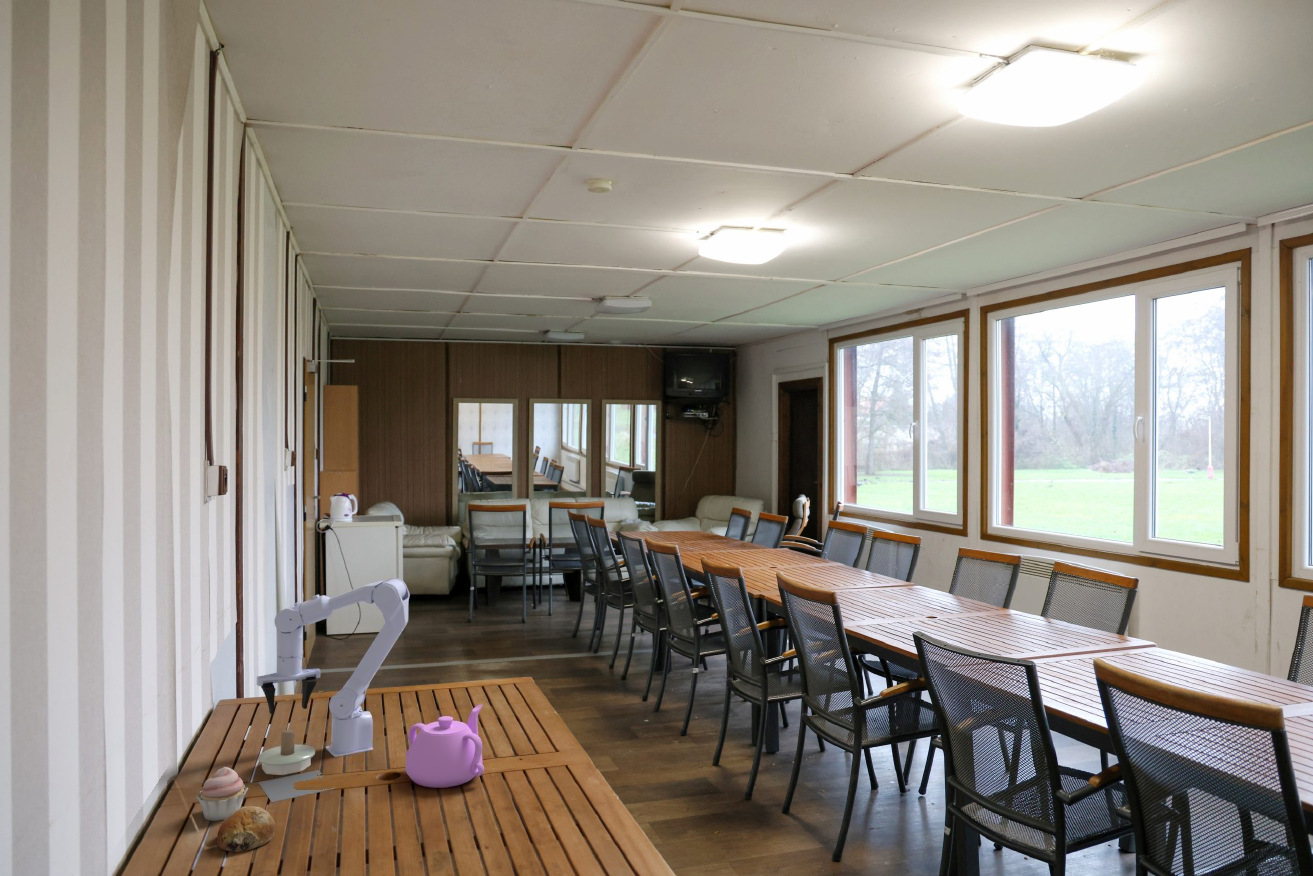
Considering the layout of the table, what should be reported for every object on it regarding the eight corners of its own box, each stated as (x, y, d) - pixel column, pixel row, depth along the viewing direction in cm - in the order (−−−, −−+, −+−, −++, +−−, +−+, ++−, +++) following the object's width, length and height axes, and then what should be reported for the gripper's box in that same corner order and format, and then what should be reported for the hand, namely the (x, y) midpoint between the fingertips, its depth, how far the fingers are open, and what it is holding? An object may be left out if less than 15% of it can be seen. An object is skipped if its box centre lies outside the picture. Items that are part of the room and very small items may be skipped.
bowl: (302, 757, 205) (303, 745, 205) (313, 770, 197) (314, 757, 198) (259, 766, 199) (259, 753, 200) (268, 779, 192) (269, 766, 192)
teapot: (516, 767, 202) (518, 709, 202) (459, 801, 182) (460, 736, 182) (442, 752, 211) (444, 696, 211) (380, 782, 191) (382, 720, 191)
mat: (318, 771, 197) (318, 770, 197) (335, 790, 186) (335, 788, 186) (258, 784, 189) (258, 782, 189) (271, 804, 178) (271, 802, 178)
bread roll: (278, 857, 163) (292, 812, 166) (241, 855, 154) (257, 808, 158) (238, 848, 166) (253, 804, 170) (199, 846, 158) (216, 800, 161)
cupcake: (213, 830, 166) (214, 779, 166) (186, 818, 171) (188, 768, 171) (257, 813, 174) (258, 764, 174) (230, 802, 179) (232, 755, 179)
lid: (315, 744, 206) (316, 721, 206) (314, 762, 195) (314, 737, 195) (261, 750, 202) (262, 726, 202) (256, 768, 190) (257, 742, 190)
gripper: (315, 648, 218) (314, 701, 218) (254, 656, 209) (252, 711, 209) (323, 654, 212) (321, 708, 212) (260, 662, 203) (259, 718, 203)
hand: (288, 710), depth 210 cm, fingers open, 7 cm apart
